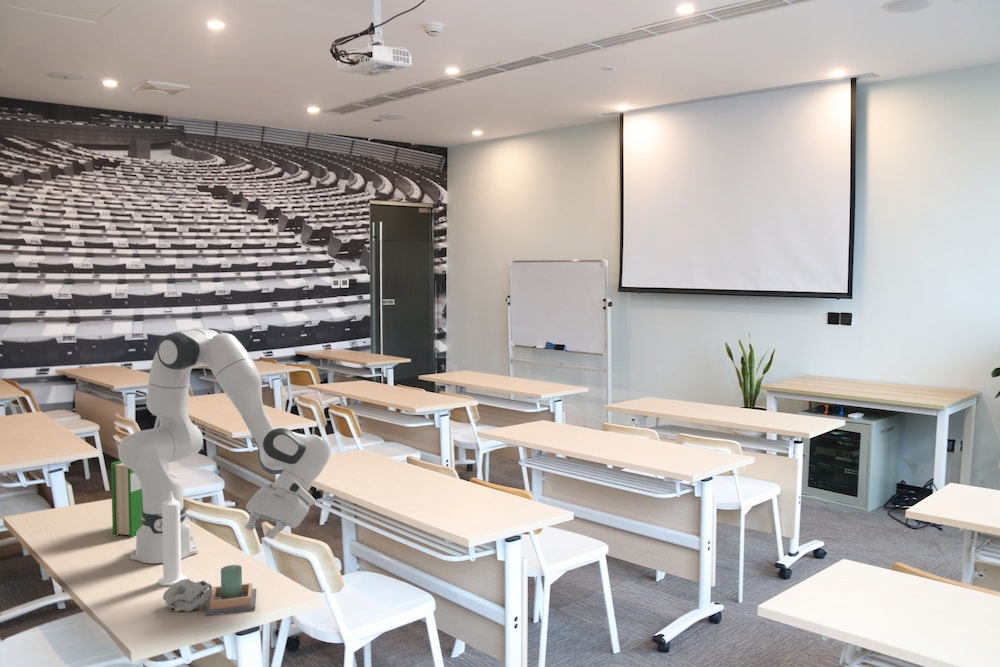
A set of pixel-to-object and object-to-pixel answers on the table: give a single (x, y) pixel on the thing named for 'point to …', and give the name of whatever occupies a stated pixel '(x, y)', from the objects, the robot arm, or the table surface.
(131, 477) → the hardback book
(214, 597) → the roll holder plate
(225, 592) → the green cylinder
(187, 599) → the skull
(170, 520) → the candle
